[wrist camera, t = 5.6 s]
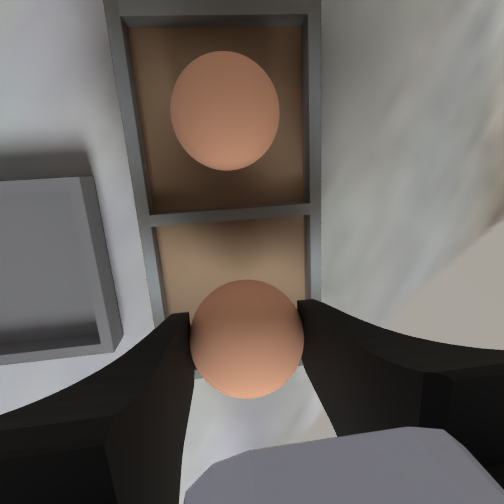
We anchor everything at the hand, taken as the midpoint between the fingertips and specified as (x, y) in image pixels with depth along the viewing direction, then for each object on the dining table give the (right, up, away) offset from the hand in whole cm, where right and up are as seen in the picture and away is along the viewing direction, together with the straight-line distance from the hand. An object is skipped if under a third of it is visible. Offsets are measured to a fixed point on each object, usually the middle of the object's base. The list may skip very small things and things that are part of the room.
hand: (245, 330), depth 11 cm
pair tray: (-1, +5, +3) cm, 6 cm away
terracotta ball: (0, 0, +1) cm, 2 cm away
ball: (-1, +8, +2) cm, 9 cm away
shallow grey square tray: (-11, +2, +3) cm, 11 cm away
